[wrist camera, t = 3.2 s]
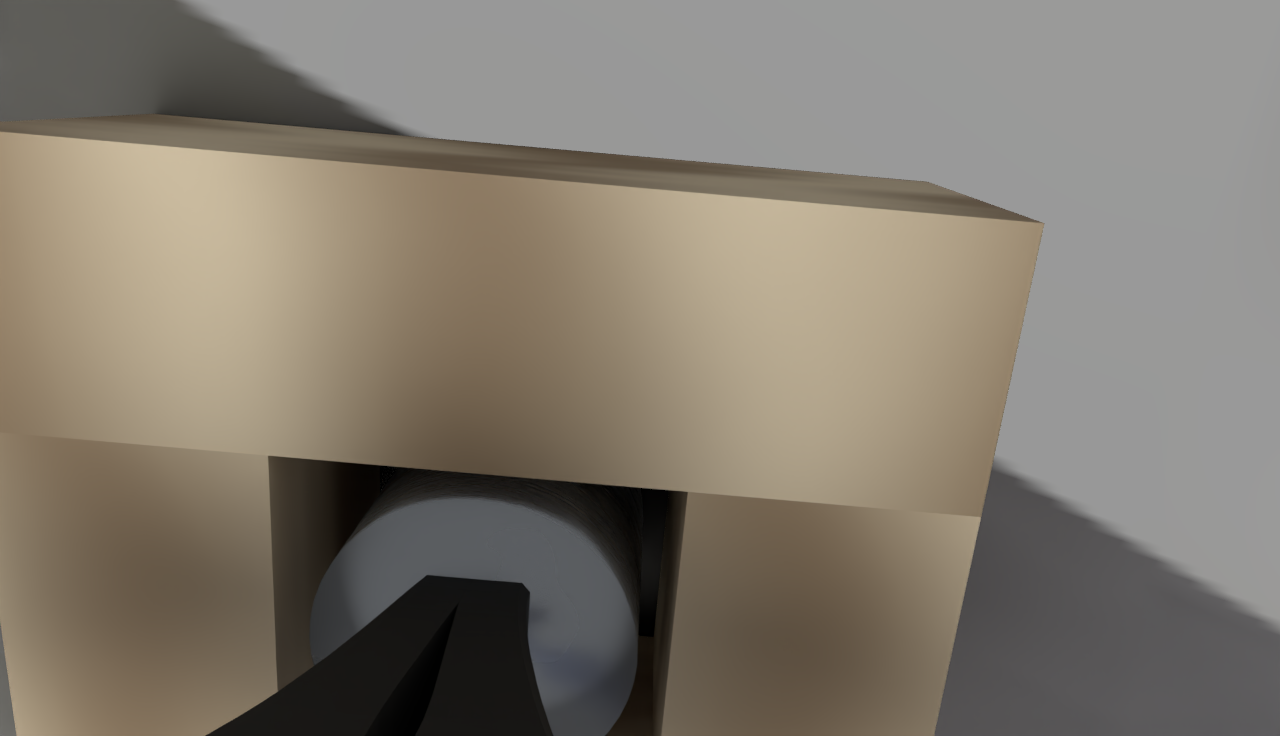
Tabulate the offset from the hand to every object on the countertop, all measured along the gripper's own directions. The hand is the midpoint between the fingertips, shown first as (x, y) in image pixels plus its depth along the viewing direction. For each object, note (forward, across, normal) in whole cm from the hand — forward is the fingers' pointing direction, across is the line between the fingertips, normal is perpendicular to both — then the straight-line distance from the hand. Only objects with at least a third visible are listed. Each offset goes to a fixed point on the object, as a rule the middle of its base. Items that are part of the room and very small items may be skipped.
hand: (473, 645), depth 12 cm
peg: (+4, 0, 0) cm, 4 cm away
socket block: (+4, 0, +6) cm, 7 cm away
